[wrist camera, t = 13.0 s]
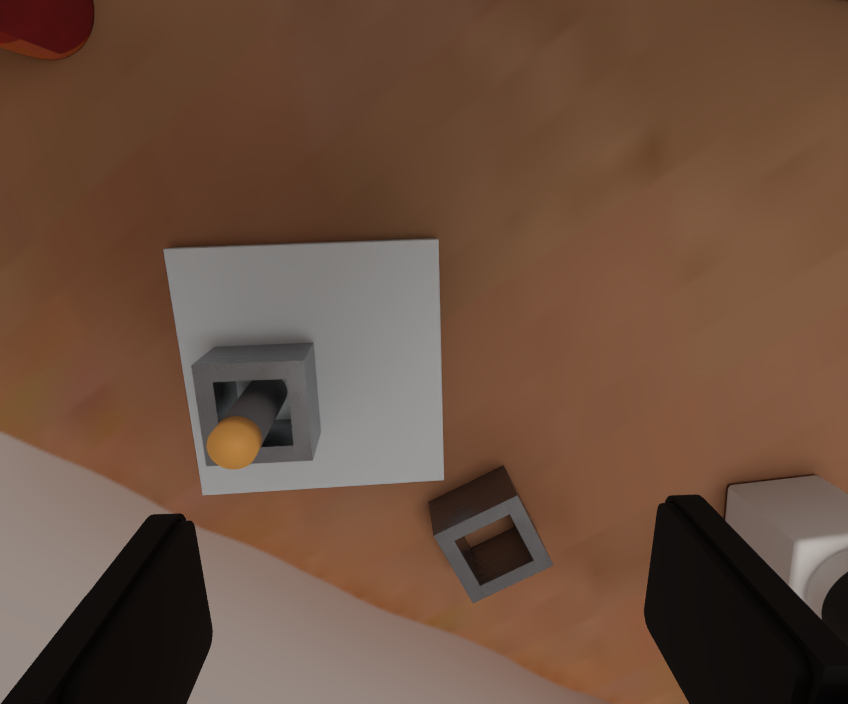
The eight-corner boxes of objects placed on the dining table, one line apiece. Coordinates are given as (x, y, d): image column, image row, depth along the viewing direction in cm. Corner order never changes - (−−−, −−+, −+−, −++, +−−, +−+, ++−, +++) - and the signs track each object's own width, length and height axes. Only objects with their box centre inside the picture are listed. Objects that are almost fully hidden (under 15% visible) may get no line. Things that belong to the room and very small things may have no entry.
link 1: (214, 346, 32) (191, 365, 28) (313, 342, 32) (303, 360, 28) (226, 436, 33) (206, 466, 30) (321, 432, 34) (312, 460, 30)
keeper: (173, 247, 32) (87, 262, 22) (436, 238, 33) (455, 249, 23) (210, 483, 36) (150, 577, 27) (441, 469, 37) (460, 555, 28)
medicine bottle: (719, 564, 41) (850, 705, 29) (725, 483, 39) (869, 599, 27) (806, 554, 41) (971, 688, 30) (817, 472, 39) (998, 583, 28)
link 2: (428, 502, 37) (433, 535, 34) (503, 465, 37) (517, 495, 33) (464, 564, 39) (472, 603, 35) (536, 529, 39) (553, 565, 35)
